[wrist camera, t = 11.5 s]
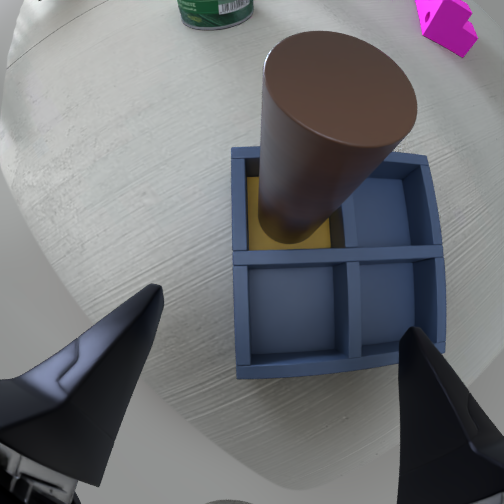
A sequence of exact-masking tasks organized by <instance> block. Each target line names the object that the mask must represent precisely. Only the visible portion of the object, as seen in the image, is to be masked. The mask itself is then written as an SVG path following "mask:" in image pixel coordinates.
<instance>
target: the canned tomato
mask: <svg viewBox="0 0 504 504" xmlns="http://www.w3.org/2000/svg"><path fill="white" fill-rule="evenodd" d="M177 2H178V6H179V10H180V13H181V20H182V22H183V23H184V24H185V25H187V26H189V27H191V28H195V29H200V30H217V29H224V28H229V27H232V26H235V25H238V24H240V23H242V22H244V21H246V20H247V19H248V18H249V17H251V15H252V14H253V11H254V7H253V0H177Z"/></svg>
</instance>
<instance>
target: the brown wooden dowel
mask: <svg viewBox="0 0 504 504" xmlns="http://www.w3.org/2000/svg"><path fill="white" fill-rule="evenodd" d="M416 117H417V100H416V95H415V92H414V89H413V87H412V85H411V83H410V81H409V79H408V78H407V76H406V75H405V73H404V72H403V71H402V69H401V68H400V67H399V66H398V65H397V64H396V63H395V62H394V61H393V60H392V59H391V58H390V57H389V56H387V55H386V54H385V53H383V52H382V51H381V50H379V49H378V48H376V47H374V46H373V45H371V44H369V43H367V42H365V41H363V40H360V39H358V38H355V37H352V36H349V35H346V34H342V33H337V32H331V31H308V32H302V33H298V34H295V35H292V36H289V37H287V38H285V39H283V40H282V41H280V42H279V43H277V44H276V45H275V46H274V47H273V48H272V49H271V51H270V52H269V54H268V55H267V57H266V59H265V62H264V66H263V86H262V114H261V141H260V167H259V192H258V220H259V224H260V226H261V228H262V230H263V231H264V232H265V234H266V235H267V236H269V237H270V238H271V239H273V240H274V241H276V242H279V243H282V244H296V243H300V242H302V241H304V240H306V239H307V238H309V237H310V236H311V235H312V234H313V233H314V232H315V231H316V230H317V229H318V228H319V227H320V226H321V225H322V224H323V223H324V222H325V221H326V220H327V219H328V218H329V217H330V216H331V215H332V214H333V213H334V212H335V211H336V210H337V208H338V207H339V206H340V205H341V204H342V203H343V202H344V201H345V200H346V199H347V198H348V197H349V196H350V195H351V194H352V193H353V192H354V191H355V190H356V189H357V188H358V187H359V186H360V185H361V184H362V183H363V182H364V181H365V179H366V178H367V177H368V176H369V175H370V174H371V173H372V172H373V171H374V170H375V169H376V168H377V167H378V166H379V165H380V164H381V163H382V162H383V160H384V159H385V158H386V157H387V156H388V155H389V154H390V153H391V152H392V151H393V150H394V149H395V148H396V146H397V145H398V144H399V143H400V142H401V141H402V140H403V139H404V138H405V137H406V136H407V135H408V133H409V132H410V131H411V129H412V128H413V126H414V124H415V121H416Z"/></svg>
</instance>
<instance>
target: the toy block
mask: <svg viewBox="0 0 504 504" xmlns="http://www.w3.org/2000/svg"><path fill="white" fill-rule="evenodd" d="M415 2H416V6H417V10H418V14H419V19H420V24H421V29H422V34H423V36H425V37H427V38H429V39H431V40H433V41H435V42H436V43H438V44H440V45H442V46H444V47H445V48H447V49H449V50H450V51H452V52H454V53H456V54H457V55H459V56H460V57H462V58H463V57H464V56H465V55H466V53H467V52H468V51H469V50H470V48H471V47H472V46H473V44H474V43H475V42H476V41H477V39H478V37H477V34H476V32H475V30H474V27H473V25H472V23H471V22H469V21H467V20H468V19H469V17H470V16H471V15H472V12H471V10H470V8H469V6H468V4H466V3H465V2H463V1H462V0H415Z"/></svg>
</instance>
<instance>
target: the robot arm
mask: <svg viewBox="0 0 504 504" xmlns="http://www.w3.org/2000/svg"><path fill="white" fill-rule="evenodd" d="M163 308H164V296H163V289H162V286H160V285H157V284H152V283H151V284H149V285H147V286H146V287H145V288H143V289H142V290H140V291H139V292H138V293H136V294H135V295H134V296H132V297H131V298H129V299H128V300H127V301H125V302H124V303H123V304H121V305H120V306H119V307H117V308H116V309H115V310H113V311H112V312H111V313H109V314H108V315H106V316H105V317H104V318H103V319H101V320H100V321H99V322H97V323H96V324H95V325H93V326H92V327H91V328H90V329H88V330H87V331H86V332H84V333H83V334H81V335H80V336H79V337H78V338H76V339H75V340H73V341H72V342H71V343H70V344H68V345H67V346H66V347H64V348H63V349H62V350H60V351H59V352H57V353H56V354H54V355H53V356H51V357H50V358H48V359H47V360H45V361H43V362H42V363H40V364H39V365H37V366H35V367H34V368H32V369H31V370H29V371H27V372H26V373H24V374H22V375H20V376H18V377H15V378H12V379H2V380H0V504H81V502H80V500H79V498H78V496H77V494H76V492H75V489H76V486H77V483H78V480H79V481H82V482H85V483H88V484H90V485H94V486H96V487H99V486H100V483H101V480H102V478H103V474H104V471H105V468H106V465H107V462H108V459H109V456H110V454H111V451H112V448H113V445H114V441H115V439H116V436H117V433H118V431H119V428H120V425H121V422H122V420H123V417H124V415H125V412H126V409H127V407H128V404H129V402H130V399H131V396H132V394H133V391H134V389H135V386H136V384H137V381H138V379H139V376H140V374H141V371H142V369H143V366H144V364H145V362H146V359H147V357H148V354H149V352H150V350H151V347H152V344H153V341H154V338H155V334H156V331H157V328H158V324H159V321H160V318H161V314H162V311H163ZM398 384H399V402H400V469H399V485H398V496H397V504H504V436H503V435H502V434H501V433H500V431H499V430H498V429H497V428H496V426H495V425H494V424H493V423H492V421H491V420H490V419H489V417H488V416H487V415H486V414H485V412H484V411H483V410H482V409H481V407H480V406H479V404H478V403H477V402H476V400H475V399H474V397H473V396H472V395H471V393H469V391H468V389H467V388H466V386H465V385H464V383H463V382H462V381H461V379H460V378H459V377H458V375H457V374H456V373H455V371H454V370H453V369H452V367H451V366H450V365H449V363H448V362H447V361H446V359H445V358H444V357H443V355H442V354H441V353H440V352H439V350H438V349H437V348H436V347H435V345H434V344H433V343H432V341H431V340H430V339H429V338H428V336H427V335H426V334H425V333H424V332H423V330H422V329H421V328H420V327H414V326H411V327H409V328H408V329H407V331H406V332H405V333H404V335H403V336H402V337H401V339H400V341H399V368H398Z"/></svg>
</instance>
